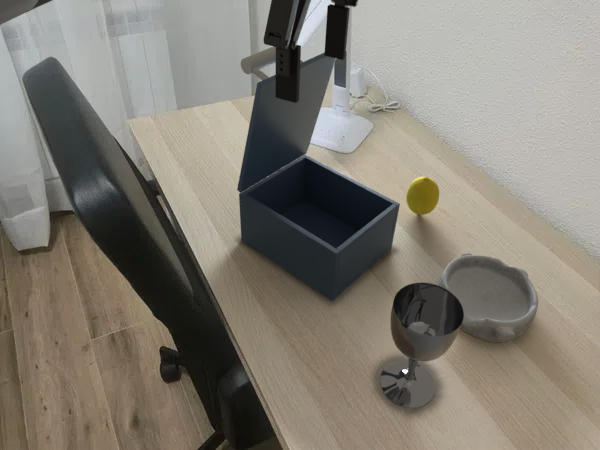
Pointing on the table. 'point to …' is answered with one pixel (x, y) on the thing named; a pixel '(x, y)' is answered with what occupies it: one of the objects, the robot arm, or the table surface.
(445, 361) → the table surface
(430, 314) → the wine glass
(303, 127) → the lid
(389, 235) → the chest
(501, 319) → the dish
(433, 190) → the lemon
